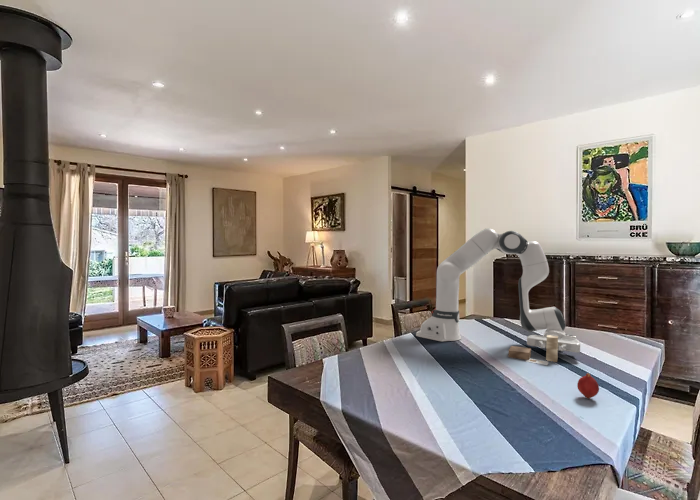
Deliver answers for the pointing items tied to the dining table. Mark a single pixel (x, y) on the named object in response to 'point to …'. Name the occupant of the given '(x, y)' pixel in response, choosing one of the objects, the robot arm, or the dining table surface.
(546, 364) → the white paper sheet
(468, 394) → the dining table surface
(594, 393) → the red rounded piece
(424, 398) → the dining table surface
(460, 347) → the dining table surface
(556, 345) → the pillar
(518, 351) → the plinth
